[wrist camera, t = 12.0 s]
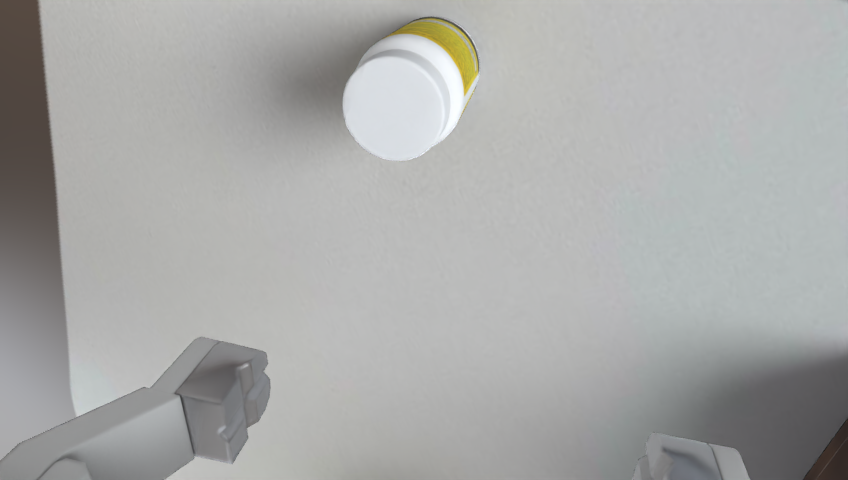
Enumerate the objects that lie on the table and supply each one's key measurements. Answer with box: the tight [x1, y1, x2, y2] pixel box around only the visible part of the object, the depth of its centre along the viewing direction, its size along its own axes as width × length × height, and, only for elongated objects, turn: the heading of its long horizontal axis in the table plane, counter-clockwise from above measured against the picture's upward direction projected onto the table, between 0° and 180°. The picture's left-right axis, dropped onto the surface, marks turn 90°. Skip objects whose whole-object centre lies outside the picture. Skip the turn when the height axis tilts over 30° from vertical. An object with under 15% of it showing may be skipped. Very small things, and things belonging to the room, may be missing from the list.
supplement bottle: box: [342, 17, 480, 161], centre depth 23 cm, size 5×5×8 cm
